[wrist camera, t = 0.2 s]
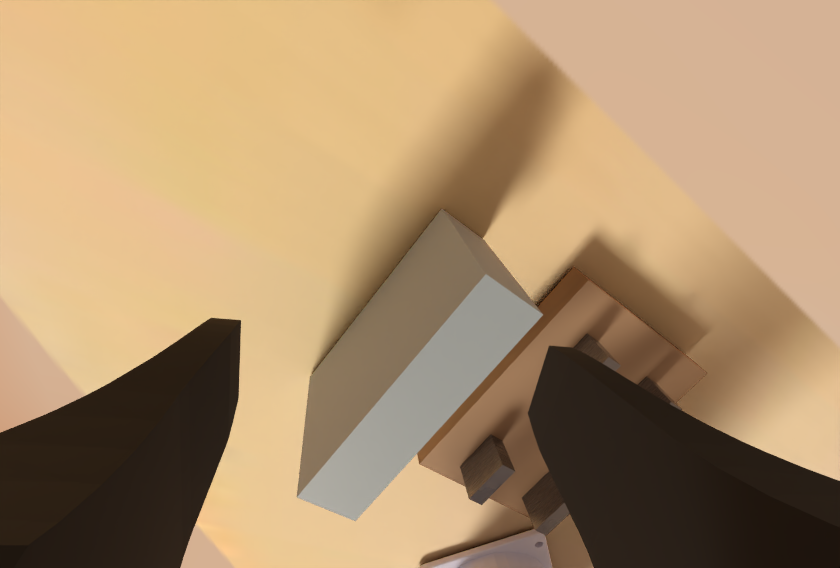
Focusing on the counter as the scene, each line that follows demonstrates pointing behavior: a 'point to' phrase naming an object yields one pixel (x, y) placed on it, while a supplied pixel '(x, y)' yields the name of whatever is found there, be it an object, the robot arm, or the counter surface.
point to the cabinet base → (519, 372)
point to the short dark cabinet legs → (544, 498)
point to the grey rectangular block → (408, 365)
